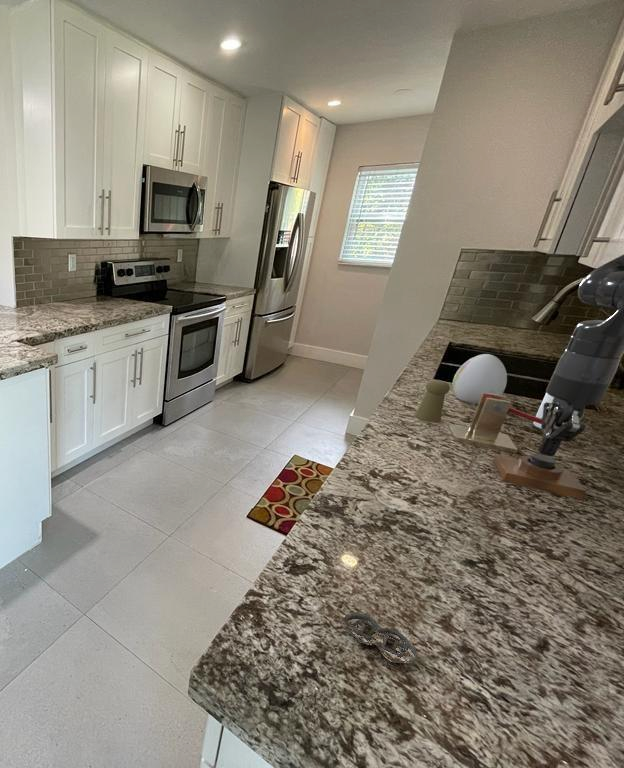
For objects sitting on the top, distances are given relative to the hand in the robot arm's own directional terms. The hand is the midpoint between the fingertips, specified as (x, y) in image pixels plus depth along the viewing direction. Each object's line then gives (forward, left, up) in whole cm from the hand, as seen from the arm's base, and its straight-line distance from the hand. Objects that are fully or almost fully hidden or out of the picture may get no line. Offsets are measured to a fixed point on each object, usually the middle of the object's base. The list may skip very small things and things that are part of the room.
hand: (545, 453), depth 85 cm
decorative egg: (+2, -50, -7) cm, 50 cm away
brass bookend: (+6, -17, -6) cm, 19 cm away
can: (-12, -36, -7) cm, 39 cm away
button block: (0, 0, -6) cm, 6 cm away
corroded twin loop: (+30, +61, -7) cm, 68 cm away
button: (0, 0, -3) cm, 3 cm away
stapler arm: (+1, -17, +1) cm, 17 cm away
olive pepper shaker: (+16, -26, -7) cm, 31 cm away
